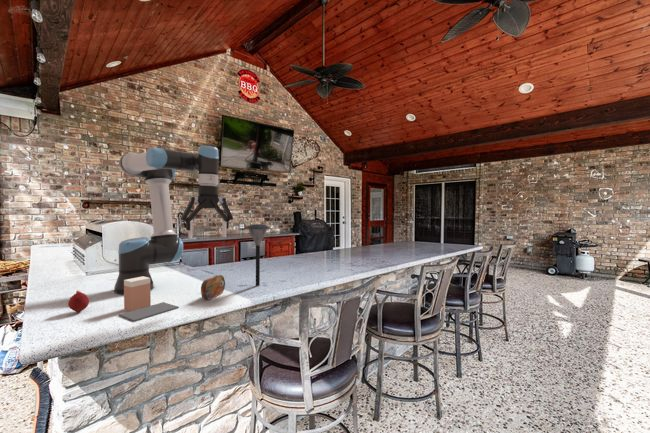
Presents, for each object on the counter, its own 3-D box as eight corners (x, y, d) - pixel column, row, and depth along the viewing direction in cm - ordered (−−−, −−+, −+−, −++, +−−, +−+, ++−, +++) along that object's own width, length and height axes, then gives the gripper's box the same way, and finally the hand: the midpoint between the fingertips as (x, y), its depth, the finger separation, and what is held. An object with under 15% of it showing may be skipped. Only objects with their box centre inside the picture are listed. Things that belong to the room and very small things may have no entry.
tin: (206, 302, 122) (206, 281, 122) (199, 301, 122) (199, 281, 122) (225, 291, 137) (225, 273, 136) (219, 291, 137) (219, 272, 137)
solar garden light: (259, 290, 139) (259, 225, 138) (239, 286, 145) (239, 224, 144) (275, 284, 150) (275, 224, 149) (256, 281, 156) (256, 223, 154)
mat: (119, 315, 106) (119, 314, 106) (163, 303, 119) (163, 302, 119) (134, 321, 100) (134, 320, 100) (178, 308, 114) (178, 306, 114)
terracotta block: (124, 309, 112) (123, 279, 112) (143, 303, 118) (143, 276, 118) (131, 311, 110) (130, 281, 110) (150, 306, 116) (150, 278, 116)
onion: (89, 308, 112) (88, 287, 112) (89, 313, 108) (89, 290, 108) (68, 311, 109) (68, 290, 108) (68, 316, 104) (67, 293, 104)
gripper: (177, 183, 110) (177, 240, 111) (241, 186, 127) (240, 236, 128) (172, 183, 116) (172, 238, 117) (233, 187, 132) (233, 235, 133)
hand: (207, 237), depth 122 cm, fingers open, 13 cm apart
